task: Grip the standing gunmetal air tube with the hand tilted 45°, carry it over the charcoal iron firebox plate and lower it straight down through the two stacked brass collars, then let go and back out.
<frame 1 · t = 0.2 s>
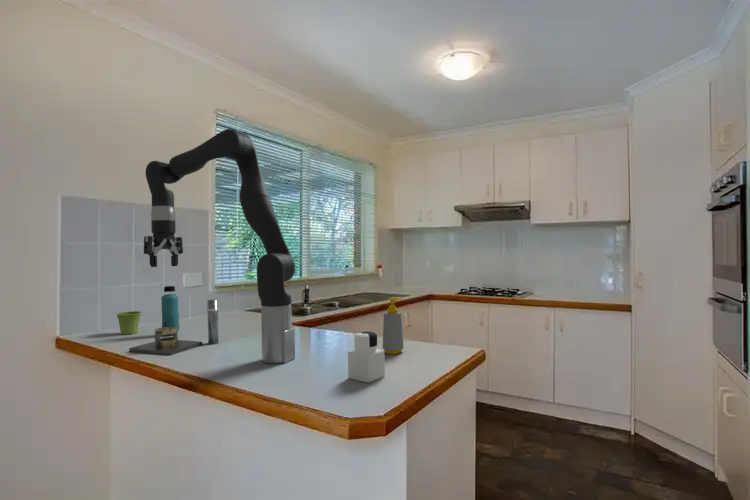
hand: (164, 266, 149), 29 cm above the worktop, tool pointing down, fingers open, 8 cm apart
medicine bottle: (366, 378, 115), on the worktop
soap bottle: (393, 352, 141), on the worktop
beverage bottle: (170, 335, 176), on the worktop
firebox collars: (166, 348, 152), on the worktop
air tube: (213, 343, 159), on the worktop
plant pot: (129, 333, 180), on the worktop
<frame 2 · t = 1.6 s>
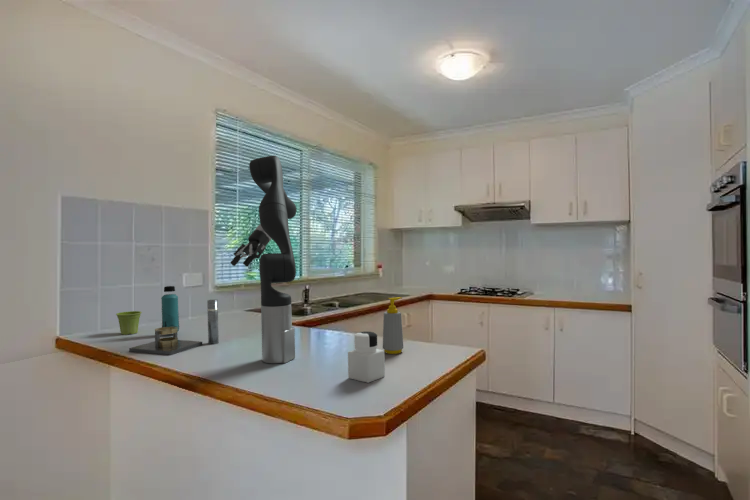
hand: (238, 264, 168), 29 cm above the worktop, tool tilted 45°, fingers open, 8 cm apart
nothing on the worktop moved.
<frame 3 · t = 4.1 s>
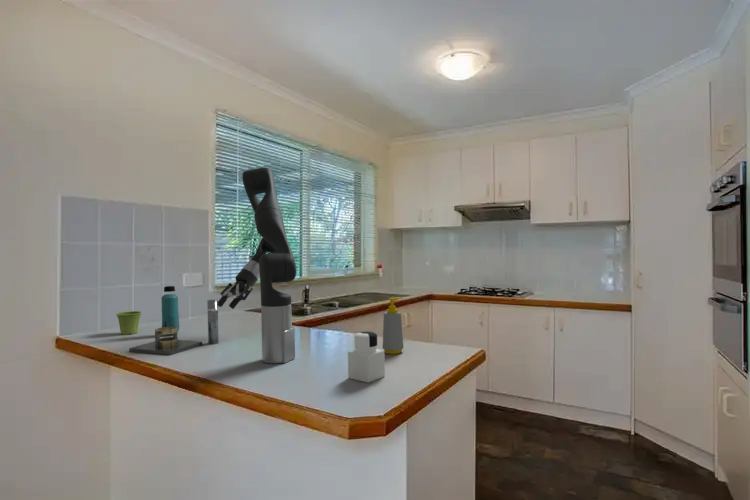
hand: (224, 306, 163), 13 cm above the worktop, tool tilted 45°, fingers open, 8 cm apart
nothing on the worktop moved.
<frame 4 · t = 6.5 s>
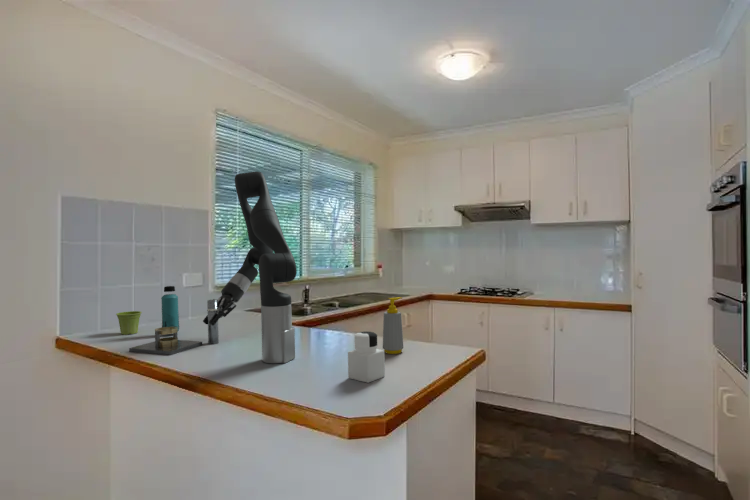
hand: (208, 323, 157), 8 cm above the worktop, tool tilted 45°, fingers closed on air tube, 3 cm apart
air tube: (213, 343, 159), on the worktop, touching gripper
everything else where it was.
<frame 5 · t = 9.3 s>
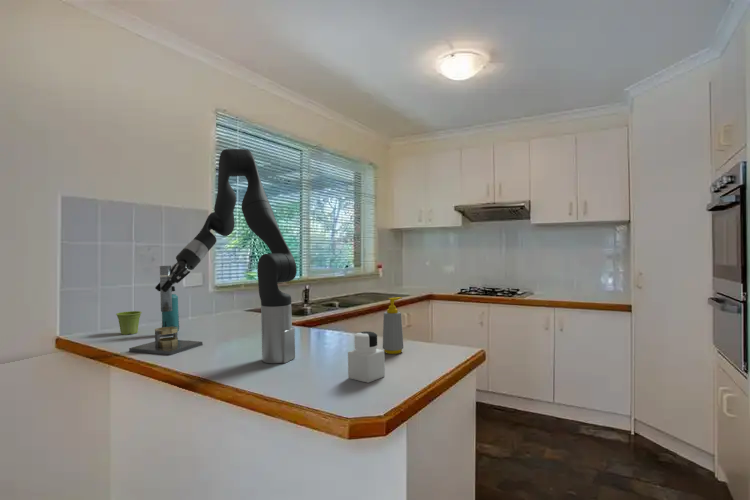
hand: (160, 290, 151), 21 cm above the worktop, tool tilted 45°, fingers closed on air tube, 3 cm apart
air tube: (166, 310, 152), point 13 cm above the worktop, touching gripper
everything else where it was.
when the fingers open (10 cm above the worktop, at t = 12.1 s): air tube drops 1 cm, resting on firebox collars.
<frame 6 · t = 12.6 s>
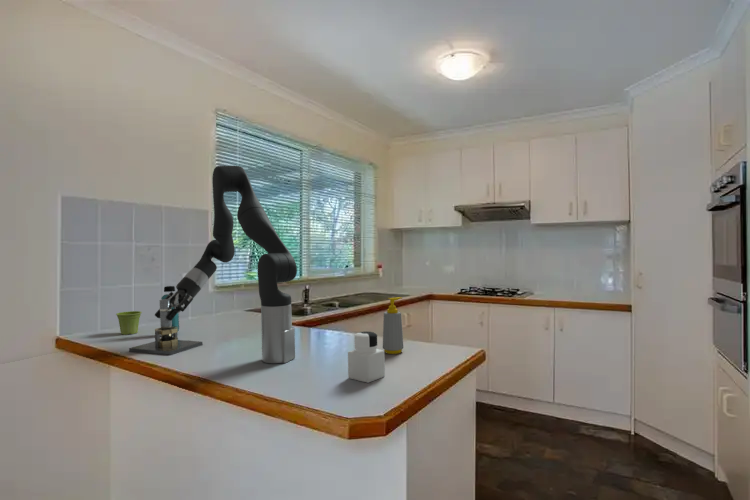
hand: (162, 318, 151), 11 cm above the worktop, tool tilted 45°, fingers open, 8 cm apart
air tube: (167, 344, 152), point 1 cm above the worktop, touching firebox collars
everything else where it was.
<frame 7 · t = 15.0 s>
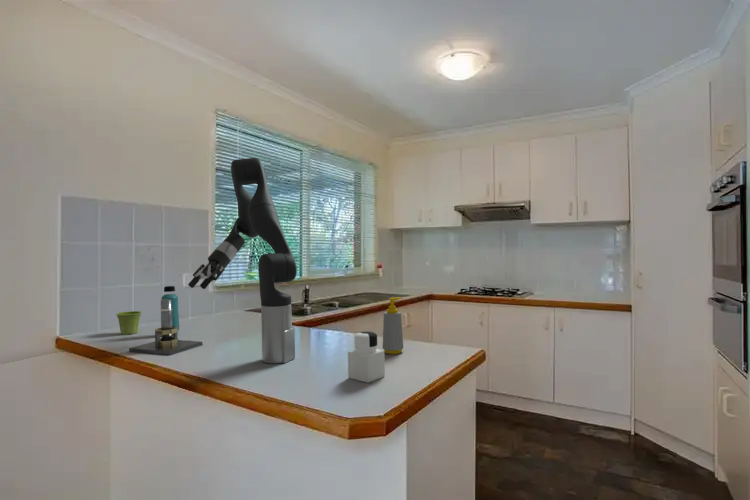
hand: (195, 287, 161), 21 cm above the worktop, tool tilted 45°, fingers open, 8 cm apart
nothing on the worktop moved.
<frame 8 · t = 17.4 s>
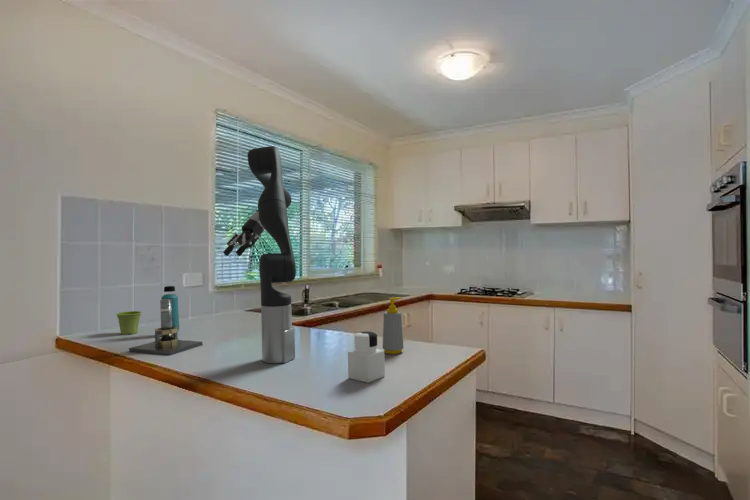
hand: (231, 254, 164), 33 cm above the worktop, tool tilted 45°, fingers open, 8 cm apart
nothing on the worktop moved.
at the end: air tube 0.1 cm off-centre on the firebox collars, point 1.2 cm above the firebox collars's base; air tube tilted 1°; the gripper is holding nothing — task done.
